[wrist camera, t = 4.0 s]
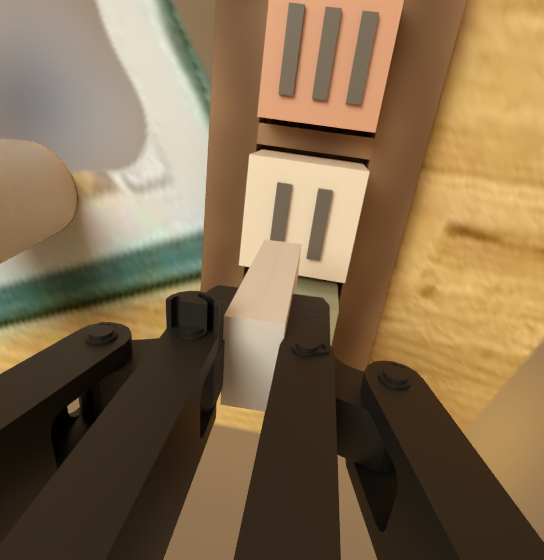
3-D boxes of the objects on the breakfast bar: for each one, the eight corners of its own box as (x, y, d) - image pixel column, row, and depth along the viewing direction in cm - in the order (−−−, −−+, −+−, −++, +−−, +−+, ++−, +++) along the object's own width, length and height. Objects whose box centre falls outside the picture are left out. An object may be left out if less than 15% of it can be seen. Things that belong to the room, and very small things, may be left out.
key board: (205, 342, 29) (197, 357, 28) (229, -41, 20) (219, -58, 18) (359, 371, 28) (361, 388, 27) (461, -18, 19) (475, -33, 17)
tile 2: (252, 244, 24) (237, 267, 20) (262, 149, 22) (248, 154, 18) (342, 258, 24) (345, 285, 20) (362, 163, 21) (370, 172, 17)
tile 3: (268, 118, 22) (255, 116, 18) (282, -1, 20) (270, -32, 16) (367, 131, 22) (375, 132, 18) (392, 11, 19) (408, -17, 16)
